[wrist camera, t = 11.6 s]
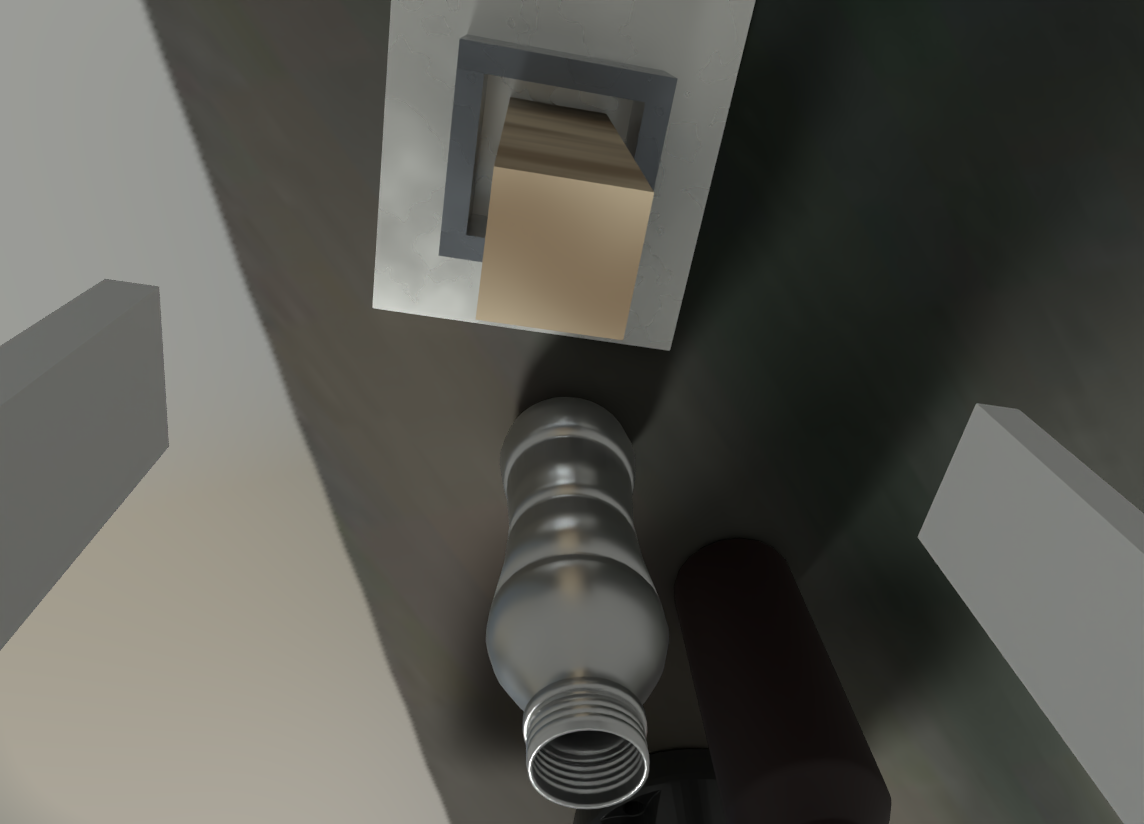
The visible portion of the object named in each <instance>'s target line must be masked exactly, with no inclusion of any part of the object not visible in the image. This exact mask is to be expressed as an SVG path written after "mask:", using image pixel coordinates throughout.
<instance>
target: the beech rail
mask: <svg viewBox="0 0 1144 824" xmlns="http://www.w3.org/2000/svg"><path fill="white" fill-rule="evenodd" d="M653 196H654V191H653V189H652V188H651V186H650V185H649V183H648V181H647V180H646V178H645V176H644V175H643V173H642V171H641V170H640V168H639V166H638V165H637V163H636V162H635V160H634V158H633V157H632V155H631V153H630V152H629V150H628V148H627V147H626V145H625V143H624V142H623V140H622V139H621V137H620V135H619V134H618V132H617V130H616V129H615V127H614V125H613V124H612V122H611V120H610V119H609V117H608V116H607V114H605V113H600V112H594V111H588V110H582V109H576V108H571V107H565V106H559V105H553V104H547V103H542V102H536V101H530V100H524V99H519V98H513V97H510V101H509V105H508V109H507V113H506V117H505V122H504V126H503V130H502V134H501V138H500V143H499V147H498V151H497V155H496V159H495V164H494V169H493V177H492V186H491V194H490V203H489V211H488V219H487V228H486V236H485V244H484V253H483V261H482V270H481V278H480V286H479V295H478V303H477V311H476V320H482V321H489V322H496V323H503V324H510V325H517V326H524V327H531V328H539V329H546V330H553V331H560V332H567V333H574V334H581V335H588V336H595V337H602V338H610V339H617V340H623V339H624V334H625V329H626V324H627V320H628V315H629V310H630V306H631V301H632V296H633V291H634V287H635V282H636V277H637V272H638V268H639V263H640V258H641V253H642V249H643V244H644V239H645V234H646V230H647V225H648V220H649V215H650V211H651V206H652V201H653Z"/></svg>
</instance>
